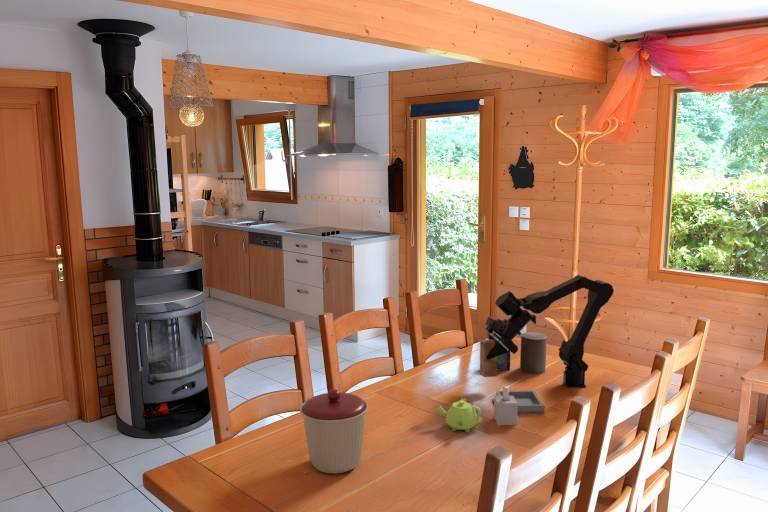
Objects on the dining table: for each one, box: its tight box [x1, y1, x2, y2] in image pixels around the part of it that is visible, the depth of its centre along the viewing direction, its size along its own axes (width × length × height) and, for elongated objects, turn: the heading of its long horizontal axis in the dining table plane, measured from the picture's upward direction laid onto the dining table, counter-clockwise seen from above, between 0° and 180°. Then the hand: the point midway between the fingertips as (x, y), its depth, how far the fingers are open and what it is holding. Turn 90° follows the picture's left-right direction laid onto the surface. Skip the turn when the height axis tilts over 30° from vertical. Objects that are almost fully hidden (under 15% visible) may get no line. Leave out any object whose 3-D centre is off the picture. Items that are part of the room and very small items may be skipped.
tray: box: [495, 389, 545, 415], centre depth 202 cm, size 13×13×3 cm
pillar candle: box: [519, 331, 548, 375], centre depth 236 cm, size 10×10×15 cm
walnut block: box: [479, 338, 498, 378], centre depth 214 cm, size 4×4×12 cm
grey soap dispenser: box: [493, 385, 518, 426], centre depth 190 cm, size 6×6×11 cm
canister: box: [299, 388, 369, 475], centre depth 164 cm, size 18×18×21 cm
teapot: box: [436, 398, 483, 433], centre depth 186 cm, size 11×12×8 cm
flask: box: [497, 350, 511, 372], centre depth 238 cm, size 9×3×11 cm, turn 65°
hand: (484, 356), depth 214 cm, fingers closed on walnut block, 4 cm apart
